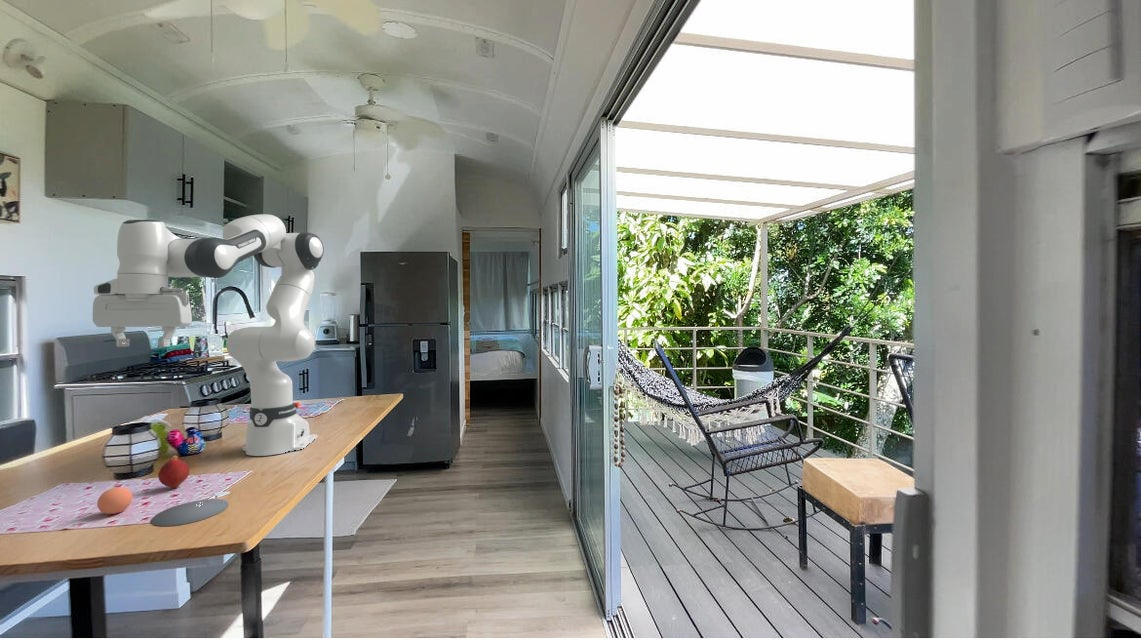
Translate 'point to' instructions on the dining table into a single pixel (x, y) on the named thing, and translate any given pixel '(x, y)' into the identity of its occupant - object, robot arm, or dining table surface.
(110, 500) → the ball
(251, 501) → the dining table surface
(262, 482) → the dining table surface
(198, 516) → the disc
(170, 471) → the onion
